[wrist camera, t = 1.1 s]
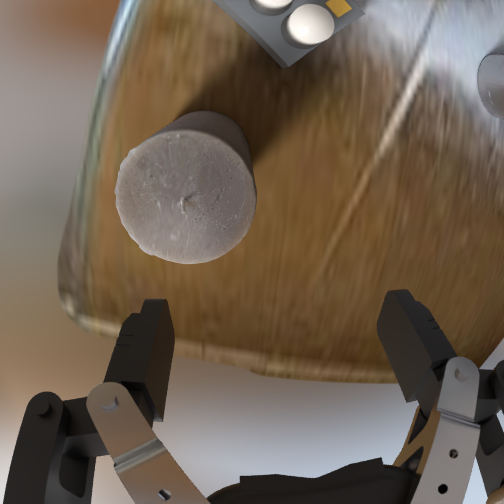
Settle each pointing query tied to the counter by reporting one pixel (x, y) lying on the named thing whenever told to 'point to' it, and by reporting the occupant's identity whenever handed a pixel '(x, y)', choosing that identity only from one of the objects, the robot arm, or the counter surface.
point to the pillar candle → (189, 189)
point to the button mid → (273, 4)
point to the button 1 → (310, 24)
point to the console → (274, 24)
